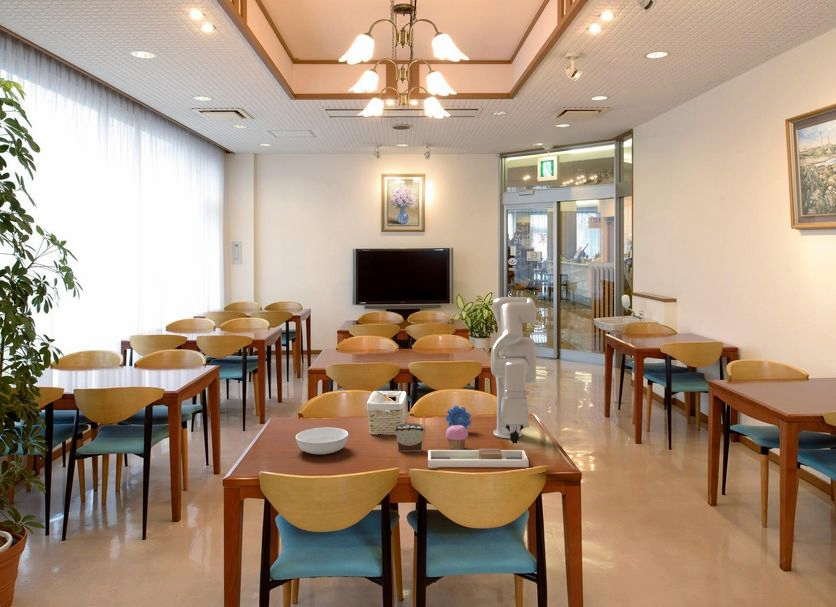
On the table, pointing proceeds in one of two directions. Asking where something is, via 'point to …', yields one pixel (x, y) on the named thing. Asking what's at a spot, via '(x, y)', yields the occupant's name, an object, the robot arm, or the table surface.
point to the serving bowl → (322, 440)
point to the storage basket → (386, 412)
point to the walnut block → (490, 454)
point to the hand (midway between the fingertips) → (514, 442)
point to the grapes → (458, 417)
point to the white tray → (475, 459)
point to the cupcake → (456, 437)
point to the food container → (409, 436)
